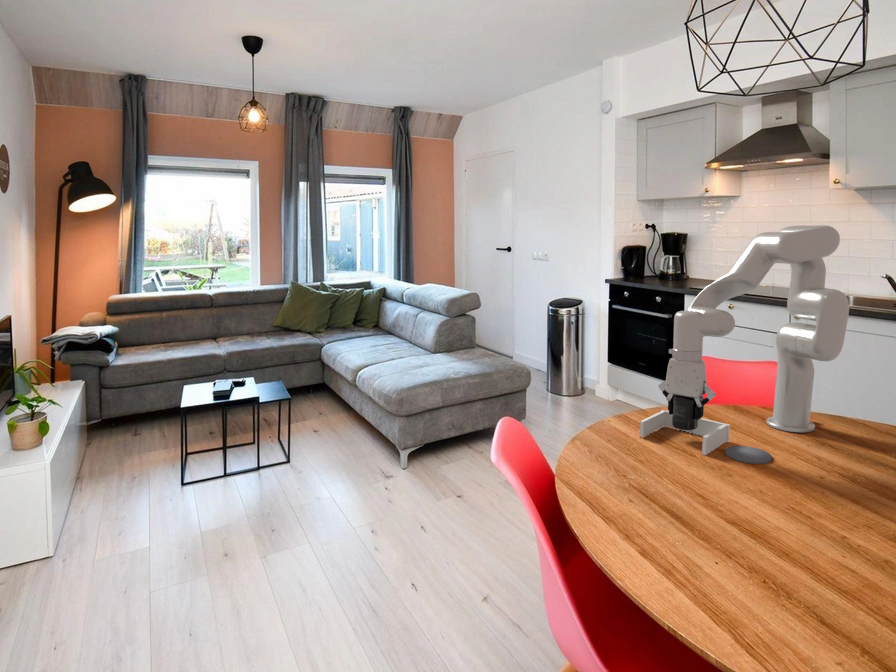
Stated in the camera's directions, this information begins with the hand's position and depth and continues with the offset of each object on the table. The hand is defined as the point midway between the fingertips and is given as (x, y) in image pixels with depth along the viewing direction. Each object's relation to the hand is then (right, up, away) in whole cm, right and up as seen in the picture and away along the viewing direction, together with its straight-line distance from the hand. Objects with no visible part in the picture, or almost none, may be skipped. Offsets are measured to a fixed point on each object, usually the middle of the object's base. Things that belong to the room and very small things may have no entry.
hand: (685, 415), depth 161 cm
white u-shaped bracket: (0, -7, +1) cm, 7 cm away
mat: (+12, -9, -11) cm, 19 cm away
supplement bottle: (0, -3, +1) cm, 4 cm away
